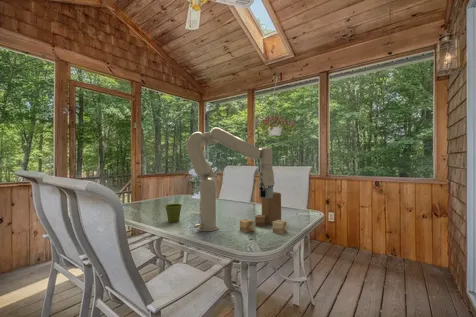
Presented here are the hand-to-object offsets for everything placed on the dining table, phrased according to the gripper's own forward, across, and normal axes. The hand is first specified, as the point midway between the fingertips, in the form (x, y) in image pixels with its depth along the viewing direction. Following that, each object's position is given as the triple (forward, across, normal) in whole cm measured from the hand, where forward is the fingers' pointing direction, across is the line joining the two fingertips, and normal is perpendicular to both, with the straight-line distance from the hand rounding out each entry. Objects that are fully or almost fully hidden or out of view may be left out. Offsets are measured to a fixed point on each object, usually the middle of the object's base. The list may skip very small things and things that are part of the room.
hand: (266, 196), depth 145 cm
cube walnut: (+20, +3, +7) cm, 21 cm away
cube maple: (+20, -1, -10) cm, 22 cm away
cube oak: (+20, -12, +6) cm, 24 cm away
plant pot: (+20, -30, +58) cm, 68 cm away
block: (+20, +13, +6) cm, 25 cm away
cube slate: (+1, 0, 0) cm, 1 cm away
